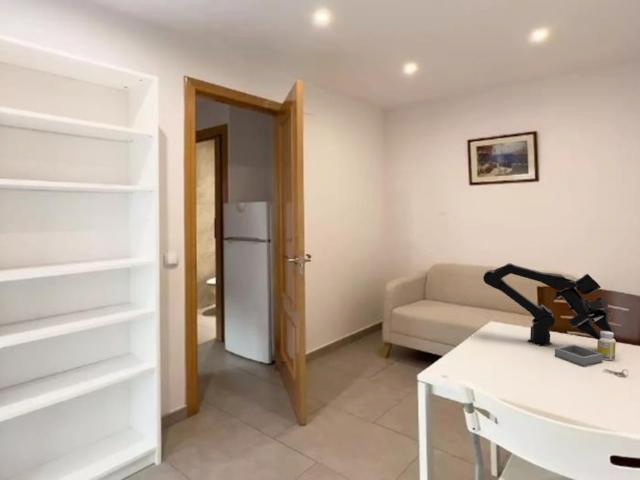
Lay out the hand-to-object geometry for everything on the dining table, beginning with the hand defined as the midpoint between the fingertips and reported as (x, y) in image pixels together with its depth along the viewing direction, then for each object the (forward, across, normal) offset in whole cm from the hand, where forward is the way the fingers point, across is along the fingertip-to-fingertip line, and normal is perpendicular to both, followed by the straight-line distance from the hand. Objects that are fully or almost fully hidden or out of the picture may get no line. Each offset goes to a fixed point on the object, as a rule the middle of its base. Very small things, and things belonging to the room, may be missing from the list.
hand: (606, 337), depth 143 cm
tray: (+3, -11, +8) cm, 14 cm away
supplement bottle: (+6, 0, +6) cm, 8 cm away
